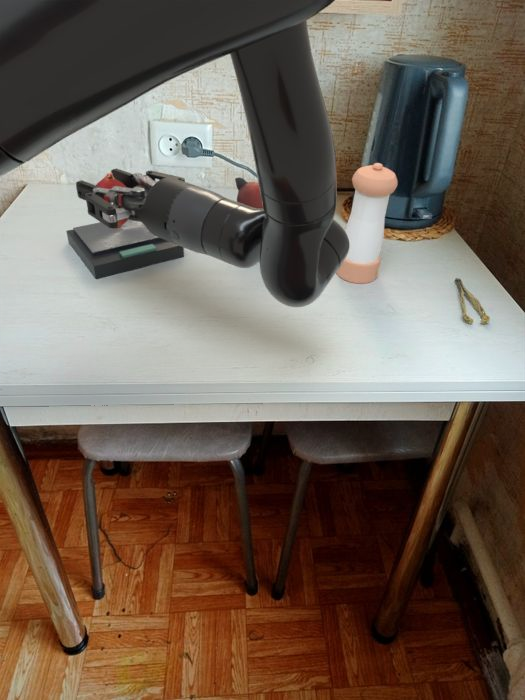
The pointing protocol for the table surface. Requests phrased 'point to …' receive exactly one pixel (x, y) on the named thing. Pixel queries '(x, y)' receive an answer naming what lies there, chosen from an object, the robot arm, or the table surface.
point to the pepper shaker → (367, 222)
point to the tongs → (474, 301)
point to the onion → (108, 184)
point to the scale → (120, 247)
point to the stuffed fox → (249, 193)
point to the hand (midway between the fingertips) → (97, 182)
